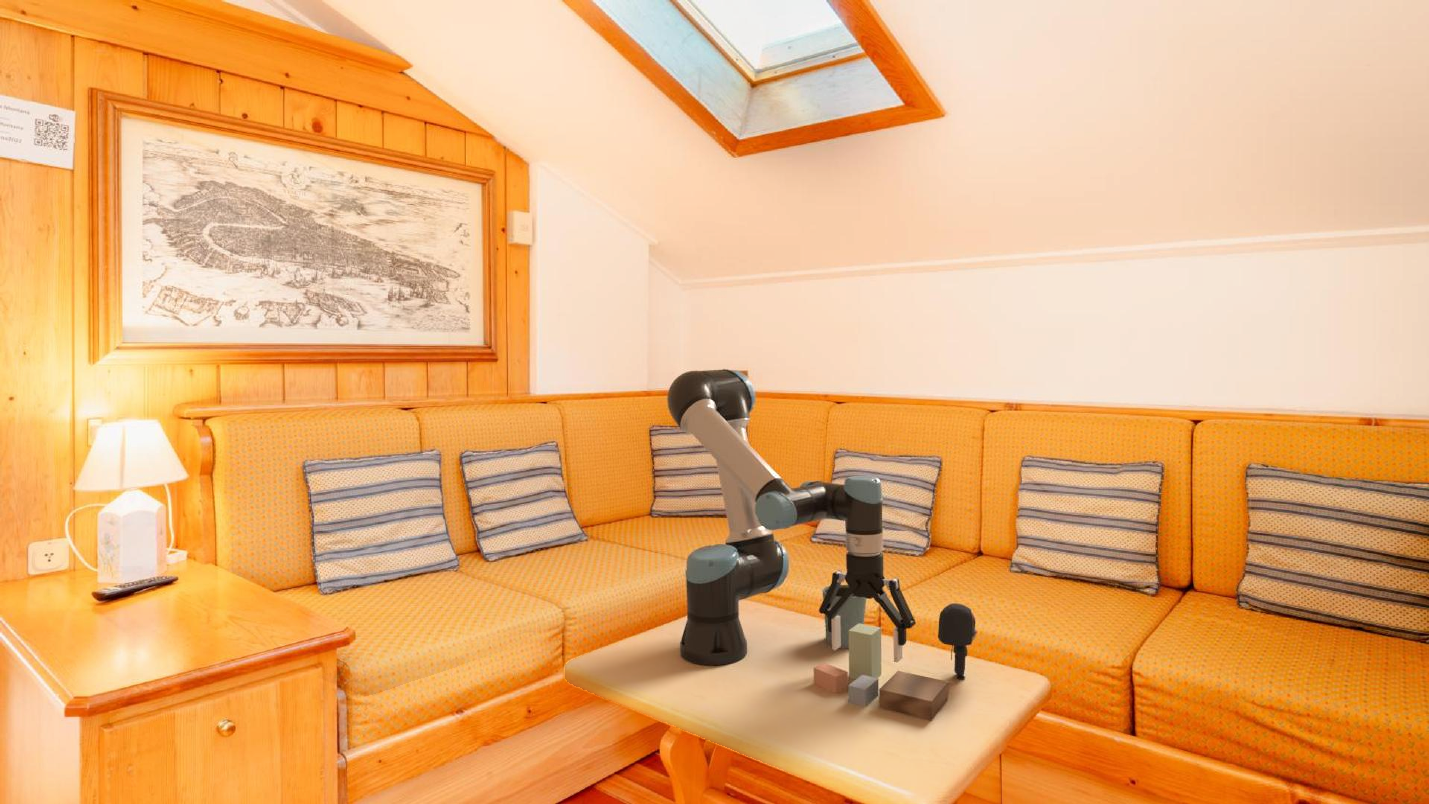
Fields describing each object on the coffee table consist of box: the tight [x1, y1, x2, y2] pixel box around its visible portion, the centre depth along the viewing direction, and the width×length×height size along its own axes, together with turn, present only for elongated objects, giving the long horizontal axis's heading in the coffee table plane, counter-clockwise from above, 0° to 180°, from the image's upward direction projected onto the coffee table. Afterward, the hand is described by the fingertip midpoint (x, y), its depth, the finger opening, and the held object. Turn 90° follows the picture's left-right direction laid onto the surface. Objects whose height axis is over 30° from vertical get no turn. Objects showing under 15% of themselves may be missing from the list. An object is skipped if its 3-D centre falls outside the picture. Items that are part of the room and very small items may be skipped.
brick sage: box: [848, 623, 882, 680], centre depth 161 cm, size 5×5×10 cm
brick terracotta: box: [813, 662, 849, 694], centre depth 157 cm, size 6×4×4 cm, turn 38°
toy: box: [937, 602, 978, 680], centre depth 160 cm, size 9×8×15 cm
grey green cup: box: [821, 584, 867, 649], centre depth 181 cm, size 10×10×12 cm
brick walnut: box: [878, 670, 949, 722], centre depth 148 cm, size 10×10×4 cm
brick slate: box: [847, 675, 879, 708], centre depth 151 cm, size 6×4×4 cm, turn 144°
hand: (866, 653), depth 161 cm, fingers open, 13 cm apart
